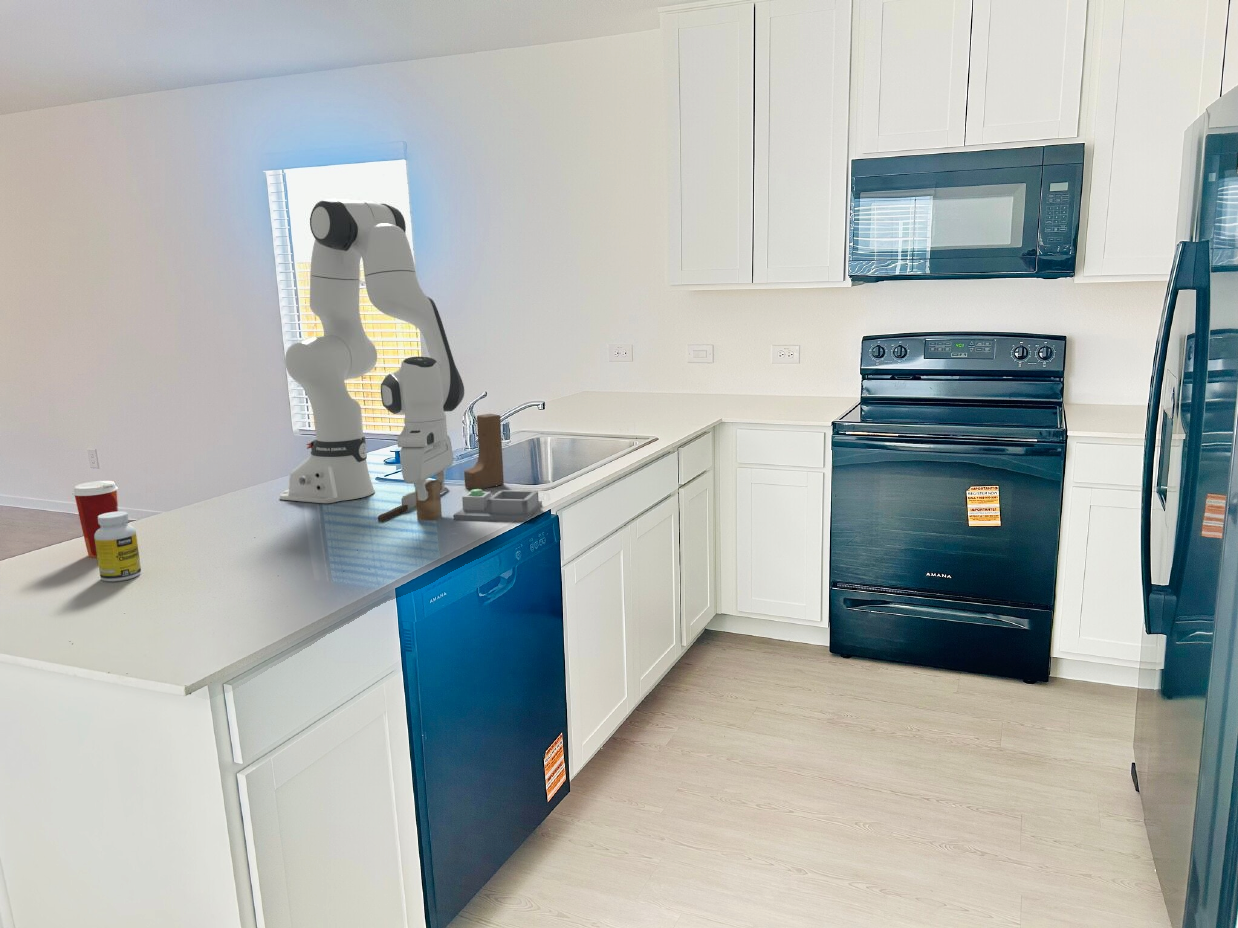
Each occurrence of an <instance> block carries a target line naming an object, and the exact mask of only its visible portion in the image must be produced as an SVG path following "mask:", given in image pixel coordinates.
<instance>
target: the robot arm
mask: <svg viewBox="0 0 1238 928" xmlns="http://www.w3.org/2000/svg"><path fill="white" fill-rule="evenodd" d="M309 226H310V231H311V233H312V236H313V237H314V243H313V246H312V247H313V248H312V253H311V260H310V272H309V273H310V277H309V278H310V279H309V308H310V310H311V312H312V313H313V314H314V315H316V317H318V318H319V320H320V322H321V325H322V329H323V336H314V337H307V338H305V339H302V340H298V341H297V342H295V343H293V344H291V345H290V346H289V347H288V349H287V350H286V352H285V356H284V363H285V368H286V371H287V373H288V376H290V378H291V379H292V380H294V381H295V382H297V383H298V384H299V385H300V386H301V388H302V389H303V391H304V392H305V394H306V396H307V398H308V401H309V404H310V406H311V410H312V415H313V421H314V430H315V431H314V432H315V439H314V440H312V441H311V442H310V443H306V446H307V447H306V449H311V452H310V455H309V456H307V458H305V459H304V460H303V461H302V462H301V463H300V464H298V465H297V466H296V467H295V468H293V470H292V471H291V472H290V475H289V477H288V478H289V480H288V489H285V490H284V491H282V492H281V493H280V494H279V500H286V501H297V502H305V503H306V502H307V503H314V504H315V503H316V504H332V503H336V502H337V503H338V502H342V501H350V500H355V499H360V498H365V497H367V496H371V495H372V494H374V493H375V492H376V490H375V488H374V485H373V483H372V482H373V481H372V480H371V475H370V473H369V468H368V467H369V466H368V463H367V459H368V458H367V456H368V455H367V454H368V452H367V442H366V437H365V435H364V429H363V427H364V426H363V415H362V414H363V413H362V408H361V405H360V403H359V402H358V401H357V399H354V398H352V397H351V395H350V394H349V391H348V389H347V387H346V382H345V381H347V380H352V379H357V378H360V377H362V376H364V375H367V374H368V373H370V372H372V370H374V368H375V366H376V365H377V361H378V352H377V348H376V346H375V344H374V342H373V341H372V340H371V339H370V338H369V337H368V336H367V334H366V332H365V329H364V327H363V323H362V319H361V314H360V285H361V284H360V281H361V277H360V276H361V273H360V272H361V271H360V270H361V267H360V266H361V259H362V265H363V277H364V283H365V288H366V293H367V296H368V300H369V302H370V303H371V304H372V305H373V307H375V309H376V310H377V311H380V312H381V313H382V314H384V315H386V316H387V317H388V316H389V317H391V318H394V319H398V320H400V321H403V322H406V323H408V324H410V325H413V326H414V327H415V328H417V329H418V330H419V332H421V334H422V336H423V339H424V341H425V345H426V349H427V351H428V356H412V357H411V356H410V357H407V358H405V359H403V360H402V361H401V364H400V368H399V369H397V370H396V371H394V372H392V373H389V374H387V375H386V376H385V377H384V379H383V380H382V381H381V383H380V398H381V402H382V405H383V407H384V408H385V409H386V410H387V411H389V412H390V413H391V414H393V415H397V416H398V415H399V416H403V415H404V418H403V419H404V421H403V422H404V427H403V428H402V431H400V434H399V435H398V437H397V439H396V445H397V447H398V448H400V452H399V461H400V468H401V475H402V479H403V480H404V482H405V484H413V486H414V490H415V489H416V491H417V493H418V500H420V501H424V500H426V499H428V491H426V488H425V484H426V481H425V480H429V479H430V478H432V477H433V476H435V480H439V483H440V490H443V489H444V488H445V487H446V486H445V485H446V484H445V481H446V480H445V479H446V475H447V469H448V468H450V467H452V466H453V463H454V453H453V449H452V441H451V438H450V436H449V435H448V429H447V428H448V425H447V416H446V412H453V411H455V410H456V409H457V407H458V406H459V405H460V404H461V403H462V401H463V399H464V398H465V386H464V381H463V379H462V377H461V374H460V372H459V370H458V368H457V365H456V363H455V360H454V357H453V353H452V350H451V346H450V344H449V340H448V337H447V333H446V330H445V328H444V324H443V322H442V318H441V315H440V312H439V310H438V308H437V306H436V303H435V301H434V300H433V299H432V298H430V297H429V296H427V295H426V294H425V293H424V291H423V289H422V287H421V286H420V284H419V282H418V277H417V273H416V265H415V262H414V257H413V254H412V253H413V252H412V249H411V245H410V242H409V240H408V237H407V234H406V227H407V225H406V221H405V218H404V215H403V214H402V212H401V210H399V209H397V208H396V207H395V206H392V205H390V204H386V203H378V202H375V201H369V200H363V199H356V200H350V199H337V198H331V199H324V200H323V199H322V200H320V201H318V202H317V203H316V204H315V205H314V206H313V208H312V210H311V213H310V217H309Z"/></svg>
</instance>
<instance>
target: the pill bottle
mask: <svg viewBox="0 0 1238 928" xmlns="http://www.w3.org/2000/svg"><path fill="white" fill-rule="evenodd" d="M128 521H129V513H128V512H127V511H121V510H120V511H119V510H118V511H117V512H109V513H104V514H101V515H99V516H98V524H99V525H100V526H101V528H100V529H98V530H97V531H96V533H95V535H94V538H95V545H96V552H97V558H96V559H97V563H98V564H97V565H98V569H99V576H100V579H101V580H102V581H104V582H110V583H112V582H113V583H114V582H122V581H127V580H132V579H134V578H136V577H137V576H140V574H141V572H142V569H141V568H142V566H141V561H140V560H141V559H140V552H139V546H138V545H139V543H138V538H137V536H138V535H137V531H136V527H134V526H133V525H131V524H128Z"/></svg>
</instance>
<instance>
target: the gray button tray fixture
mask: <svg viewBox="0 0 1238 928" xmlns="http://www.w3.org/2000/svg"><path fill="white" fill-rule="evenodd" d="M482 492H483V495H482V496H471V490H470V491H469V492H467V493H466V494H464V495H463V496H462V497H461V500H462V508H461V509H460V510H458V511H456V513H454V514H453V516H452V518H453V520H457V521H458V520H461V521H465V520H466V521H472V520H473V521H490V522H491V521H492V522H493V521H495V522H522V523H523V522H524V523H525V521H527V519H529V517H531V516H532V515H533V514H534V513H535V512H536V511H537V510H539V508H541V507H542V506H543V501H542V500H539V490H517V489H516V490H515V489H514V490H512V489H511V490H509V489H499V490H498V491H497V492H495V493H494V494H493V495H492V492H491V491H482Z"/></svg>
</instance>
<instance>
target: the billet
mask: <svg viewBox="0 0 1238 928" xmlns="http://www.w3.org/2000/svg"><path fill="white" fill-rule="evenodd" d="M425 481H426V484H425V488H426V491H428V499H426V500H424V501H420V500H418V493H417V491H416V489H415V488H414V492H415V493H416V506H415V508H416V517H417V518H416V520H418V521H436V520H437V519H438V518H441V517H442V514H443V513H442V501H441V493H440V483H439V480H436V479H435V480H432V479H426V480H425Z"/></svg>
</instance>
